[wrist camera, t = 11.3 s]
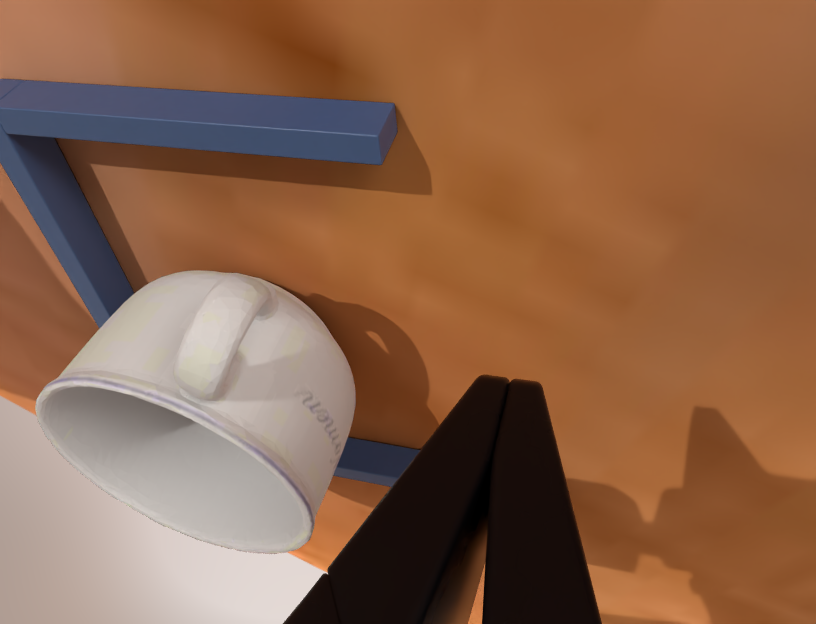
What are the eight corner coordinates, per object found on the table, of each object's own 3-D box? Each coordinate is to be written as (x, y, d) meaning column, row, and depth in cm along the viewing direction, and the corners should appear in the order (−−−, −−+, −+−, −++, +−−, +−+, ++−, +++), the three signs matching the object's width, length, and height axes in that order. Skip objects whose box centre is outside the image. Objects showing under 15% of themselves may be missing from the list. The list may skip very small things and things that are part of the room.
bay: (395, 102, 20) (378, 135, 19) (430, 461, 35) (422, 493, 34) (0, 77, 23) (-35, 105, 22) (183, 416, 38) (167, 444, 37)
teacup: (314, 427, 35) (253, 579, 30) (117, 321, 33) (11, 467, 27) (466, 287, 25) (413, 479, 20) (198, 119, 23) (56, 287, 17)
